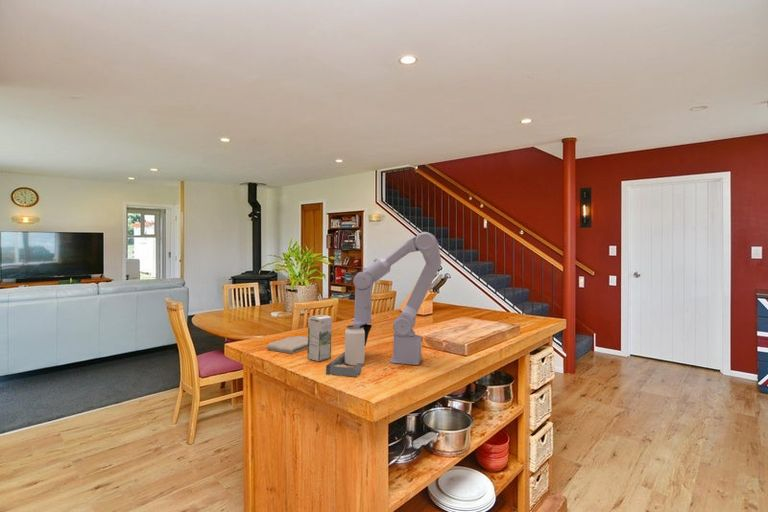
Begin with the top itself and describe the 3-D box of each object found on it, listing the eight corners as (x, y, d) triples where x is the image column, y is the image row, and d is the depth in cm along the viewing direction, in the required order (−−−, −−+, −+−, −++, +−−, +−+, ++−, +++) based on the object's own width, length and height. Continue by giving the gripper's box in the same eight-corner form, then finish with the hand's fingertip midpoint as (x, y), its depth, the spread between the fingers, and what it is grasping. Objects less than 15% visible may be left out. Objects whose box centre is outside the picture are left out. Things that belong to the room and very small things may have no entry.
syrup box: (319, 355, 137) (320, 314, 137) (331, 358, 133) (332, 316, 133) (307, 358, 133) (307, 316, 132) (318, 362, 129) (319, 318, 129)
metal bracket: (373, 359, 134) (373, 350, 134) (356, 377, 115) (356, 367, 115) (347, 356, 136) (347, 348, 136) (326, 374, 117) (326, 364, 117)
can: (361, 366, 125) (362, 329, 124) (342, 365, 126) (342, 328, 126) (366, 361, 131) (367, 325, 131) (347, 359, 132) (348, 324, 132)
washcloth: (322, 345, 153) (322, 337, 153) (292, 356, 137) (292, 347, 137) (298, 341, 159) (298, 333, 159) (266, 351, 143) (266, 343, 143)
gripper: (358, 303, 143) (357, 340, 143) (344, 309, 129) (344, 350, 129) (376, 304, 141) (376, 342, 141) (365, 310, 127) (364, 352, 127)
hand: (362, 346), depth 135 cm, fingers closed
